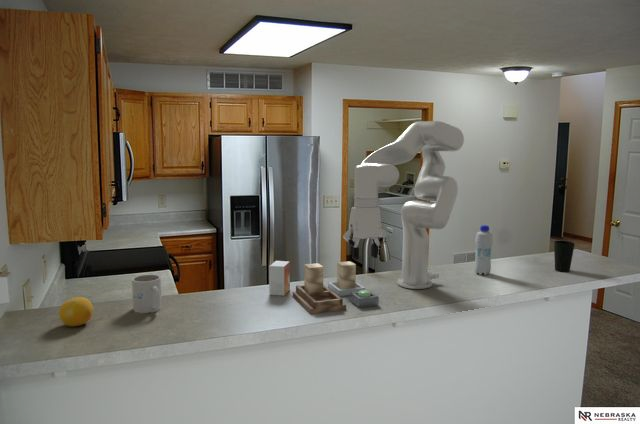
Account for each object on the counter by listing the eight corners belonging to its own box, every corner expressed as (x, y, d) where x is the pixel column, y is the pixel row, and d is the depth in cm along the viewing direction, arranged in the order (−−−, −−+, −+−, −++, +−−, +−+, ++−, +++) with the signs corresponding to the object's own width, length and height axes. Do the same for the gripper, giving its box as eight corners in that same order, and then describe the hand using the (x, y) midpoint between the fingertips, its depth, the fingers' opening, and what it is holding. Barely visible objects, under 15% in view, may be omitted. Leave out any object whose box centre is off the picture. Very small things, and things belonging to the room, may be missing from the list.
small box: (284, 296, 171) (284, 266, 169) (268, 295, 172) (268, 265, 171) (290, 289, 179) (290, 261, 177) (275, 288, 180) (275, 260, 178)
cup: (576, 273, 203) (578, 244, 201) (557, 272, 203) (559, 244, 201) (567, 268, 210) (569, 240, 208) (548, 268, 210) (550, 240, 208)
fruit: (59, 331, 139) (57, 304, 137) (61, 322, 146) (59, 296, 145) (93, 327, 142) (91, 300, 141) (94, 318, 149) (92, 292, 148)
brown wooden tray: (324, 292, 176) (324, 282, 175) (346, 309, 158) (346, 298, 157) (292, 295, 171) (292, 286, 171) (310, 313, 154) (310, 303, 153)
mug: (130, 307, 159) (129, 276, 158) (158, 302, 164) (156, 273, 162) (139, 318, 149) (137, 286, 148) (168, 313, 154) (167, 282, 152)
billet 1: (318, 291, 172) (318, 263, 170) (323, 295, 167) (323, 266, 166) (304, 292, 170) (304, 264, 169) (309, 297, 165) (309, 267, 164)
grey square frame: (352, 285, 184) (352, 279, 184) (364, 293, 175) (365, 287, 174) (328, 287, 181) (328, 282, 181) (339, 296, 171) (339, 290, 171)
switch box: (369, 298, 168) (369, 290, 168) (378, 305, 162) (378, 296, 161) (350, 301, 166) (350, 292, 166) (359, 307, 159) (359, 298, 159)
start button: (367, 298, 166) (367, 289, 166) (372, 302, 163) (372, 293, 162) (356, 299, 165) (356, 290, 165) (361, 303, 161) (361, 294, 161)
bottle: (476, 270, 205) (479, 223, 202) (493, 273, 202) (495, 224, 199) (471, 274, 200) (473, 225, 197) (487, 276, 196) (490, 227, 193)
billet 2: (349, 287, 181) (350, 261, 180) (355, 291, 176) (355, 264, 175) (337, 289, 179) (337, 262, 178) (342, 293, 175) (342, 265, 173)
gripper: (384, 200, 166) (383, 253, 168) (336, 203, 160) (336, 257, 162) (395, 203, 159) (393, 258, 161) (346, 206, 153) (345, 262, 155)
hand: (365, 257), depth 162 cm, fingers open, 6 cm apart
